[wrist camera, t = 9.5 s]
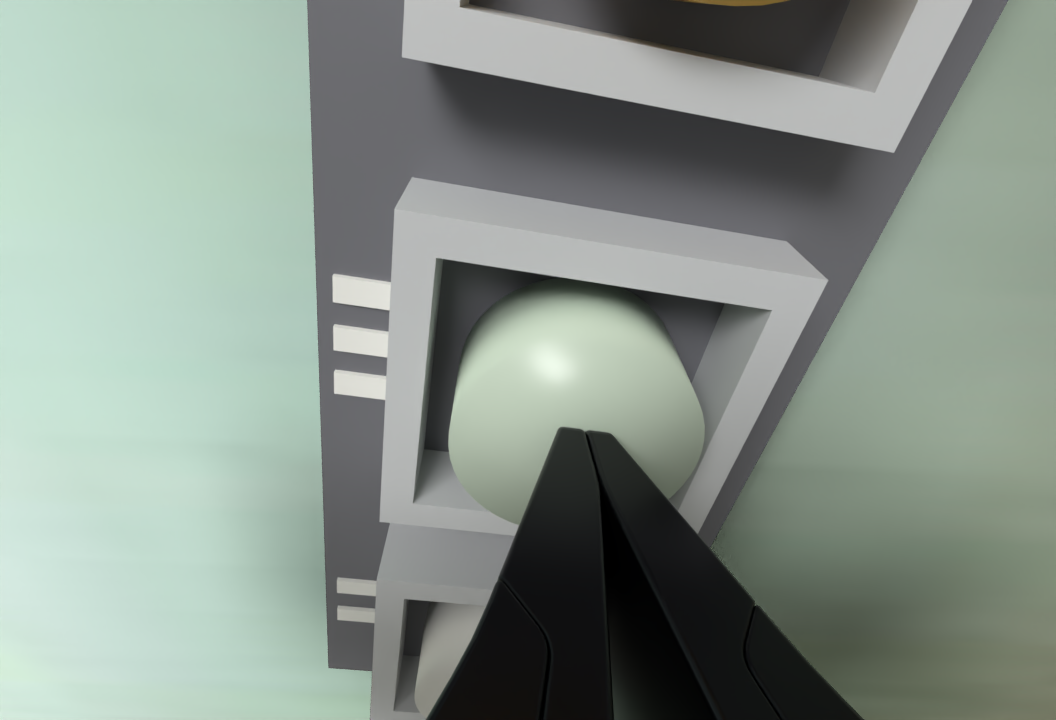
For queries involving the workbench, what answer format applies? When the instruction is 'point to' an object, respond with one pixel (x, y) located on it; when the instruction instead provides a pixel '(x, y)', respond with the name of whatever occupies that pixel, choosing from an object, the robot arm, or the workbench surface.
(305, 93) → the workbench surface
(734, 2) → the button amber
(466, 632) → the button white
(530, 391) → the button sage
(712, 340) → the control board
